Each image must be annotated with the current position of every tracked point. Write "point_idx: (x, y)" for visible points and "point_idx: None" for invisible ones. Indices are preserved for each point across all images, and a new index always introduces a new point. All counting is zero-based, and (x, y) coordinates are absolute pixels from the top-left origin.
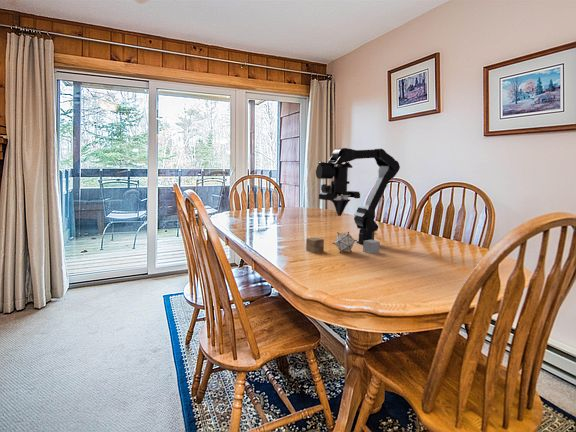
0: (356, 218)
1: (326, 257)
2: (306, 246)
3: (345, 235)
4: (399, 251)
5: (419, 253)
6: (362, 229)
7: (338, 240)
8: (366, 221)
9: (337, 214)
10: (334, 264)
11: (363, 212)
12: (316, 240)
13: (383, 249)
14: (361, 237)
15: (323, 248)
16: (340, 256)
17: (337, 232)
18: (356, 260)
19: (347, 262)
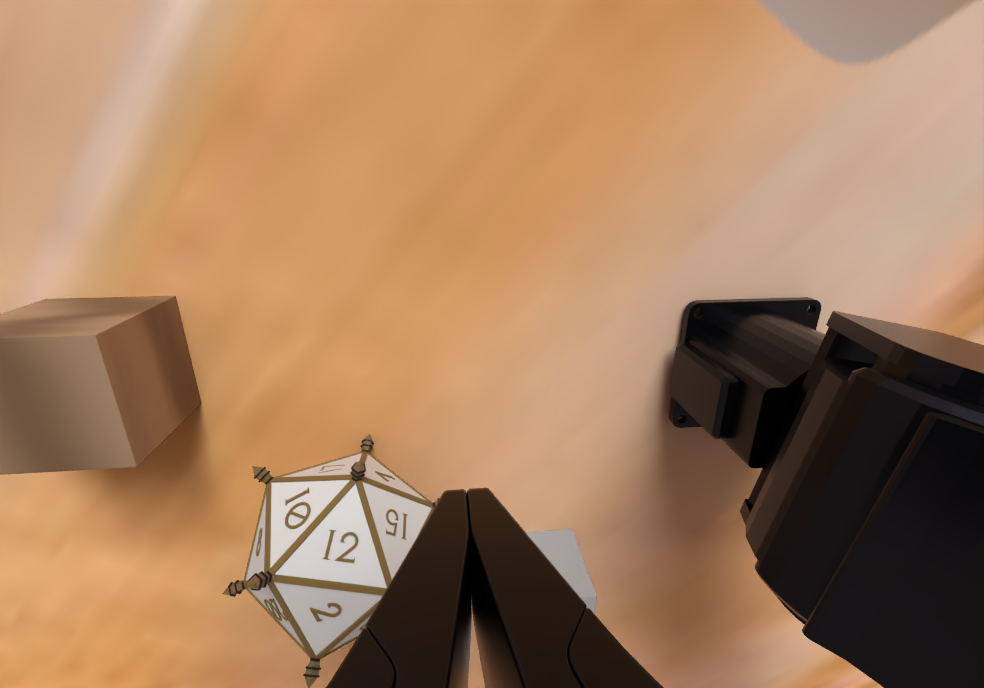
0: (849, 451)
1: (126, 548)
2: (14, 313)
3: (301, 640)
4: (694, 617)
5: (738, 680)
6: (799, 400)
7: (249, 574)
8: (786, 607)
9: (436, 505)
10: (97, 674)
11: (934, 672)
12: (22, 472)
13: (661, 549)
14: (695, 402)
15: (186, 415)
16: (246, 565)
17: (248, 587)
18: (289, 661)
19: (205, 671)
